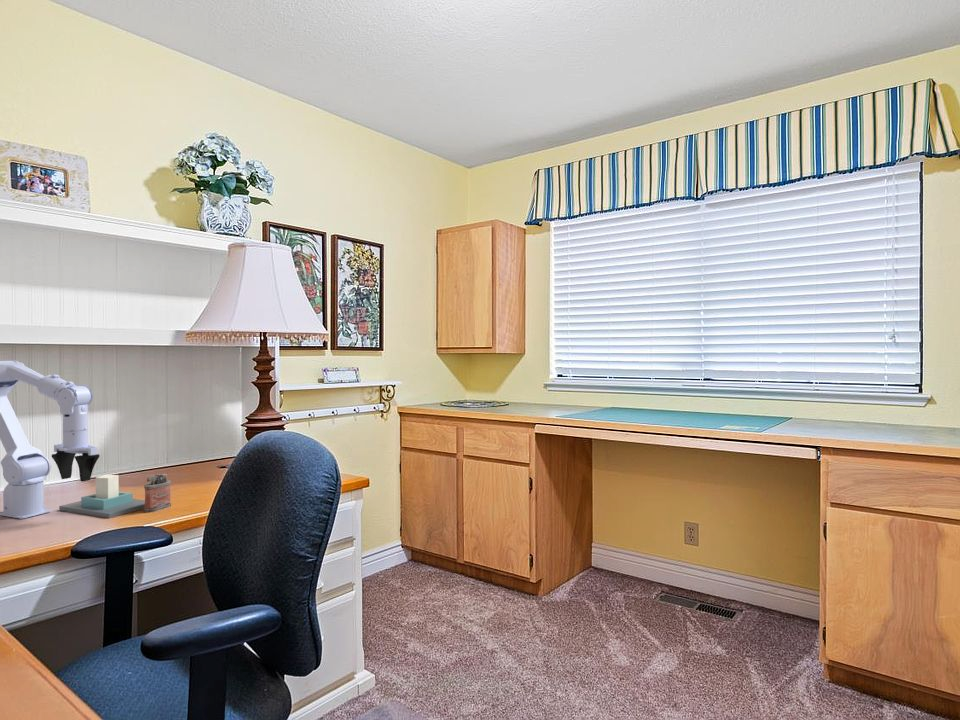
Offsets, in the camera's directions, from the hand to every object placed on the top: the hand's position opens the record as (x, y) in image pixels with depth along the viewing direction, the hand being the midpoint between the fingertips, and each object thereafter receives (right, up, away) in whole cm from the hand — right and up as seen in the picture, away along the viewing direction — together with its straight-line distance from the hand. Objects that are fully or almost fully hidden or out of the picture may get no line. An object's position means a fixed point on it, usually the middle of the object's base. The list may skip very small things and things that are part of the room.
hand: (75, 479), depth 164 cm
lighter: (+17, -11, +10) cm, 22 cm away
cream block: (+2, -9, +10) cm, 14 cm away
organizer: (+2, -10, +10) cm, 14 cm away
